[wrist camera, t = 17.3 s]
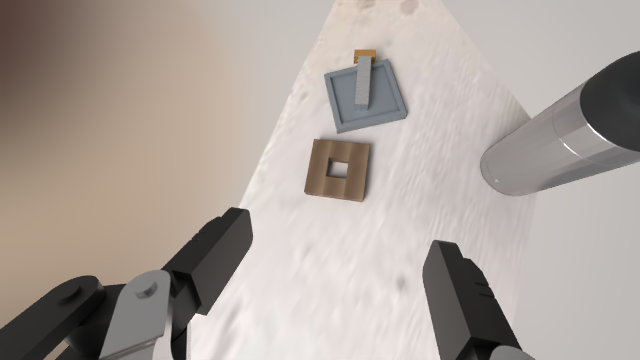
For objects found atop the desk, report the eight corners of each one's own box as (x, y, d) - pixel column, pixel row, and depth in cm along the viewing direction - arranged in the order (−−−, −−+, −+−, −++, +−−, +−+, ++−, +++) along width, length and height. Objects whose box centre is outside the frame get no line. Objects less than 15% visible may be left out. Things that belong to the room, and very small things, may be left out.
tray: (386, 64, 46) (387, 58, 45) (405, 118, 42) (407, 114, 41) (324, 79, 47) (324, 74, 46) (337, 133, 43) (337, 129, 42)
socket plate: (368, 149, 41) (369, 144, 40) (362, 202, 39) (362, 199, 37) (315, 143, 43) (314, 139, 41) (306, 194, 40) (304, 191, 39)
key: (371, 111, 43) (374, 57, 45) (372, 104, 41) (376, 48, 43) (350, 110, 43) (354, 57, 45) (350, 103, 41) (354, 48, 43)
